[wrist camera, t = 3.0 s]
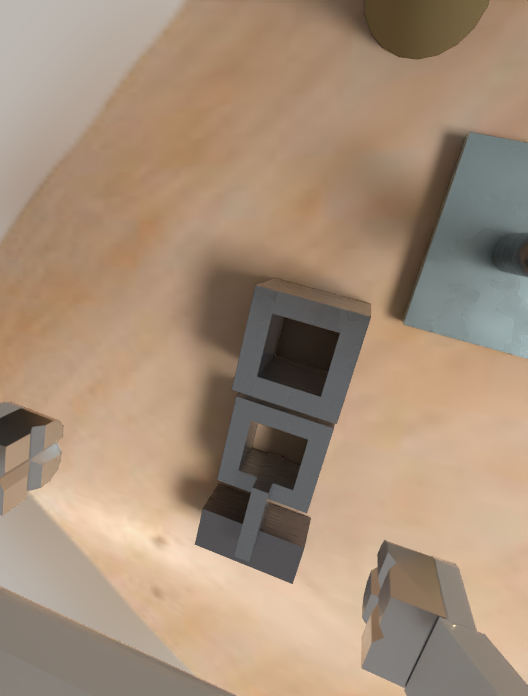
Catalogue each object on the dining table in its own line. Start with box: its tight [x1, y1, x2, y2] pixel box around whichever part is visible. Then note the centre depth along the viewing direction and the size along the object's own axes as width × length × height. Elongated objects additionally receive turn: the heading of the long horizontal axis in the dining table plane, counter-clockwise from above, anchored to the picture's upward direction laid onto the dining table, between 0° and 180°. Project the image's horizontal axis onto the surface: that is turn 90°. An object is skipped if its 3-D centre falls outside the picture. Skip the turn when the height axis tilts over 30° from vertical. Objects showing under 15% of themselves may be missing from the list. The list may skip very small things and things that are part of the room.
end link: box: [232, 278, 371, 424], centre depth 23 cm, size 6×6×4 cm
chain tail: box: [195, 393, 335, 584], centre depth 26 cm, size 12×7×4 cm, turn 166°
